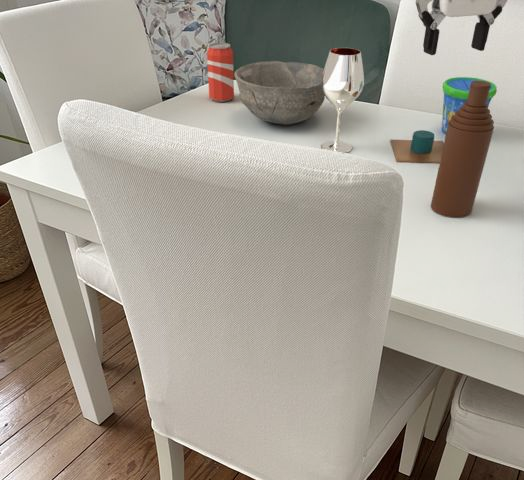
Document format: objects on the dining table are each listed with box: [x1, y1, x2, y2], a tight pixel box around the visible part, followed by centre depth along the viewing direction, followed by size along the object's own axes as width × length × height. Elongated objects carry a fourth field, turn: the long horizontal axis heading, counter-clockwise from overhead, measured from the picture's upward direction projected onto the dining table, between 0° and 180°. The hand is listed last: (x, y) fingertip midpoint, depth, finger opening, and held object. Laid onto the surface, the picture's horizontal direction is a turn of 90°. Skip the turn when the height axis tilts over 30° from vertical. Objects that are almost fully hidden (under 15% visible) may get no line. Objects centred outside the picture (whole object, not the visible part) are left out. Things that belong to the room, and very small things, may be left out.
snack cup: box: [441, 76, 498, 134], centre depth 120 cm, size 16×10×10 cm
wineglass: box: [320, 47, 365, 154], centre depth 111 cm, size 8×8×18 cm
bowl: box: [233, 60, 326, 126], centre depth 126 cm, size 21×21×10 cm
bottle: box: [430, 81, 495, 219], centre depth 90 cm, size 7×7×20 cm
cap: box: [411, 129, 435, 154], centre depth 114 cm, size 4×4×3 cm
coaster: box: [389, 139, 444, 164], centre depth 116 cm, size 11×11×1 cm
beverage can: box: [206, 42, 235, 103], centre depth 137 cm, size 6×6×12 cm
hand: (453, 51), depth 101 cm, fingers open, 9 cm apart
